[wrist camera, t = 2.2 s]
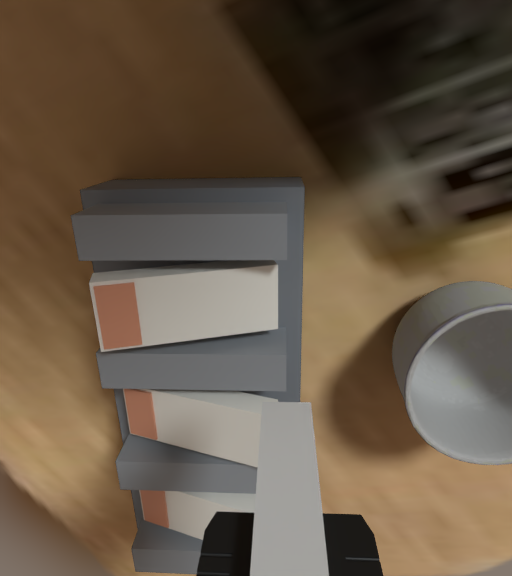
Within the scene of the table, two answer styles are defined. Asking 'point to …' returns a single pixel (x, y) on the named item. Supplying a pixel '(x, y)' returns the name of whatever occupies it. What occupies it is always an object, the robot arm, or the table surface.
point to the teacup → (459, 370)
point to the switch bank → (202, 352)
